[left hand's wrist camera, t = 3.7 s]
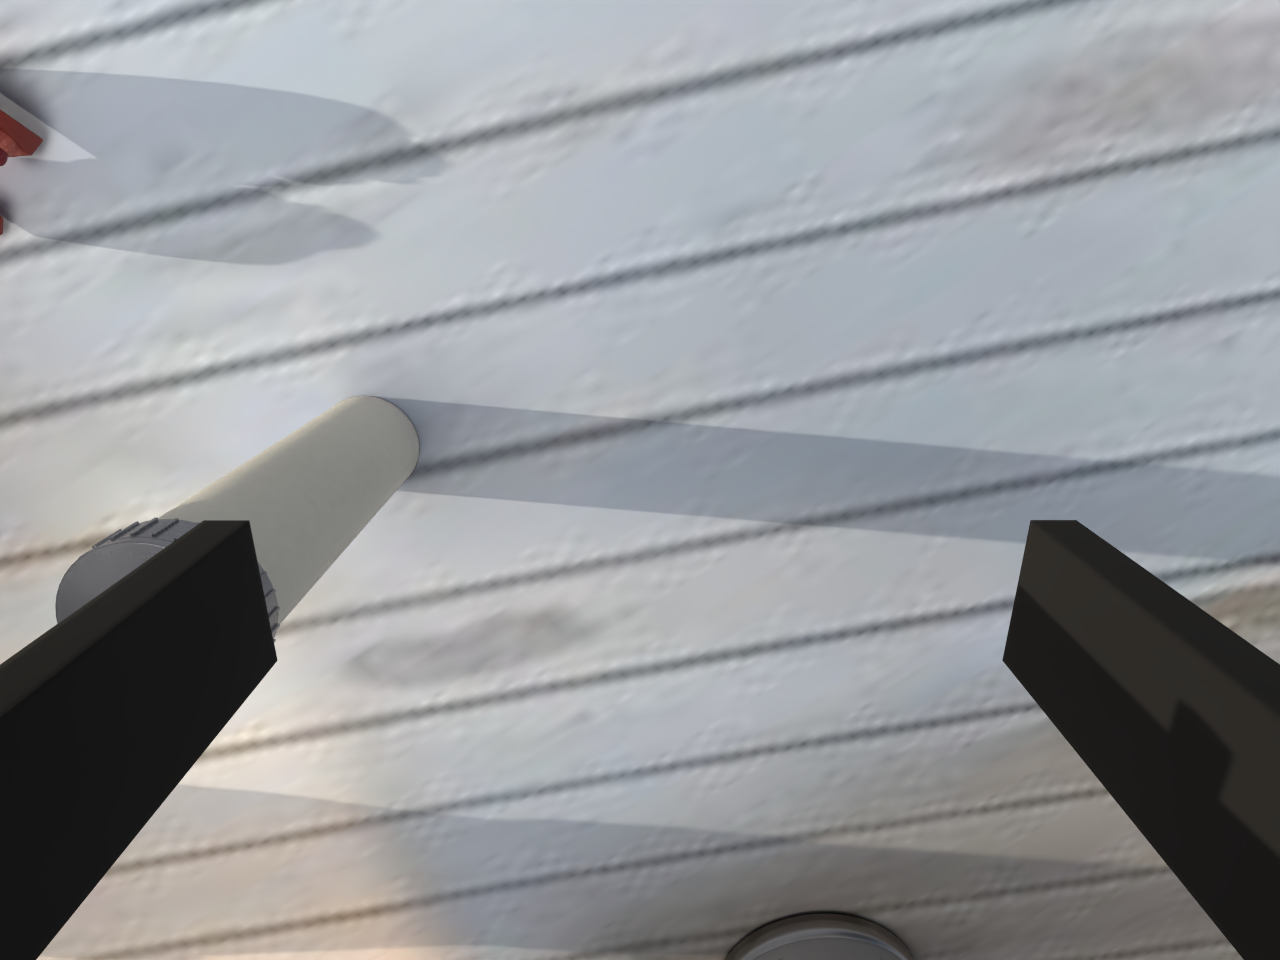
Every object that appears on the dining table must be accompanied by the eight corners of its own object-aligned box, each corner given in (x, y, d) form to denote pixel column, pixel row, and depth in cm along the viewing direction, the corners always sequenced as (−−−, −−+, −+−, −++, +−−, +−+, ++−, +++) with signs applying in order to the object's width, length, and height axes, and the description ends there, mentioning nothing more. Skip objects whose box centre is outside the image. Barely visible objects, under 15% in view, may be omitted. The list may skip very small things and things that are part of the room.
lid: (64, 525, 23) (20, 549, 22) (252, 507, 23) (222, 530, 22) (129, 685, 26) (93, 718, 24) (302, 670, 25) (278, 703, 24)
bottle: (309, 400, 40) (47, 551, 22) (408, 391, 40) (222, 535, 22) (334, 493, 42) (109, 701, 24) (428, 484, 42) (272, 687, 24)
